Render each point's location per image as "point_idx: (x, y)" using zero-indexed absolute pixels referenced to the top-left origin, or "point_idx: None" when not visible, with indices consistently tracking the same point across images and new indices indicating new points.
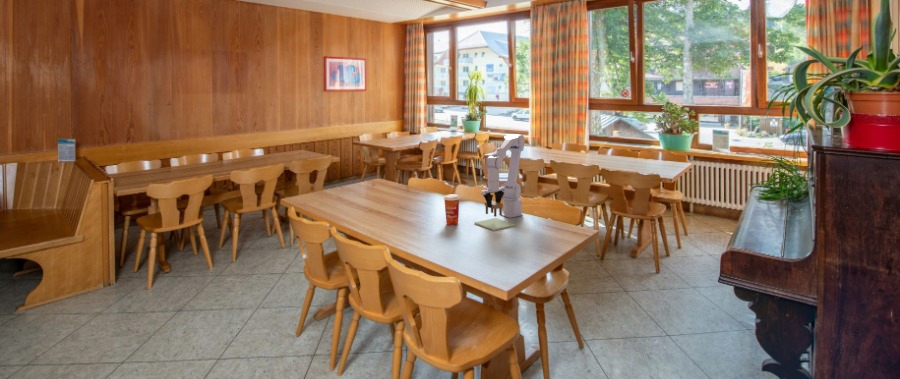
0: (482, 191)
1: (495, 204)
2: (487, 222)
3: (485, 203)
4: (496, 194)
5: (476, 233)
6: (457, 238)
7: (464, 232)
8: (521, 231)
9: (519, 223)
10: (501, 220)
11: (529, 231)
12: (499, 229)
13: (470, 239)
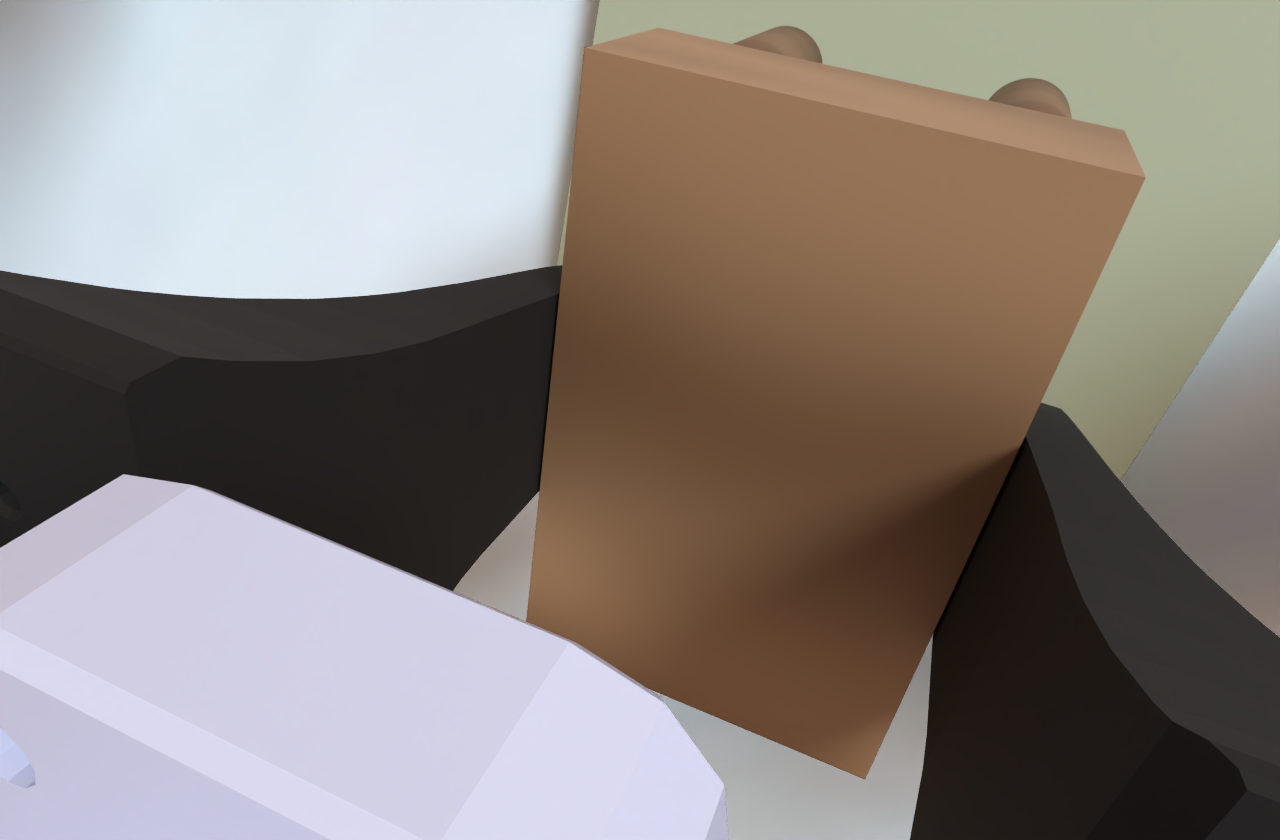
0: None
1: (598, 614)
2: (836, 58)
3: (602, 99)
4: (1012, 812)
5: (298, 251)
6: (11, 159)
7: (186, 47)
8: (795, 750)
9: (1270, 627)
10: (1213, 259)
11: (860, 834)
12: None
13: None
